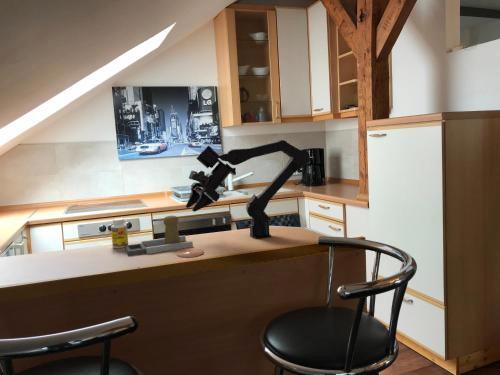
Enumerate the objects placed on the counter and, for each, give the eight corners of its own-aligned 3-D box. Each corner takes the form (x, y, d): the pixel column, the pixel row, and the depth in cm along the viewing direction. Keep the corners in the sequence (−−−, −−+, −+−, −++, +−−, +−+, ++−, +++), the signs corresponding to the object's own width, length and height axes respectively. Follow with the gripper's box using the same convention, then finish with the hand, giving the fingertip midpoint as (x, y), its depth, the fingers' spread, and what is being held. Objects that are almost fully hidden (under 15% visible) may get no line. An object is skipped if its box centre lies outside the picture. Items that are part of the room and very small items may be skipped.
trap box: (142, 247, 150) (142, 243, 150) (146, 253, 141) (146, 248, 141) (125, 249, 147) (124, 245, 147) (128, 255, 139) (128, 251, 139)
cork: (179, 248, 146) (177, 217, 145) (162, 248, 147) (160, 218, 145) (182, 243, 152) (180, 214, 151) (166, 244, 153) (164, 214, 151)
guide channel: (185, 240, 157) (184, 235, 157) (192, 247, 147) (192, 241, 146) (141, 246, 151) (141, 241, 150) (147, 253, 141) (146, 248, 140)
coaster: (199, 248, 145) (199, 246, 144) (207, 254, 136) (207, 252, 136) (173, 252, 141) (173, 250, 141) (180, 258, 133) (180, 257, 133)
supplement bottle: (110, 249, 149) (108, 221, 148) (115, 245, 155) (112, 218, 153) (126, 248, 149) (124, 220, 148) (130, 244, 155) (128, 217, 154)
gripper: (194, 161, 159) (167, 192, 156) (209, 163, 142) (179, 198, 139) (215, 180, 163) (189, 210, 160) (231, 184, 146) (203, 218, 143)
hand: (189, 209), depth 151 cm, fingers open, 9 cm apart
